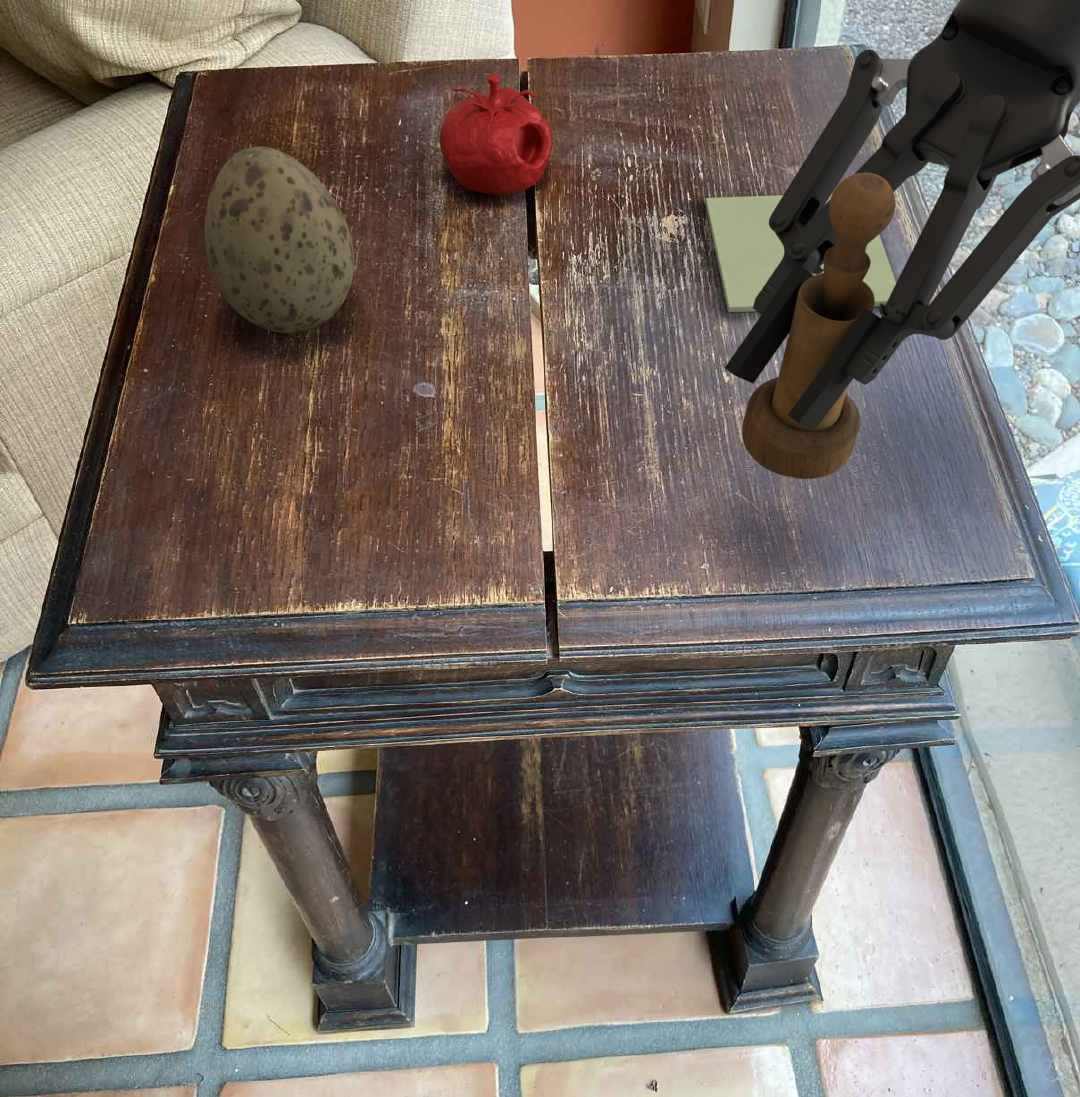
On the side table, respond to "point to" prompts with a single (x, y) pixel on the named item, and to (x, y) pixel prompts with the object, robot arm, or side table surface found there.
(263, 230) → the decorative egg
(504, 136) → the red tomato
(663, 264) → the side table surface
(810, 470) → the mortar and pestle
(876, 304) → the mat
